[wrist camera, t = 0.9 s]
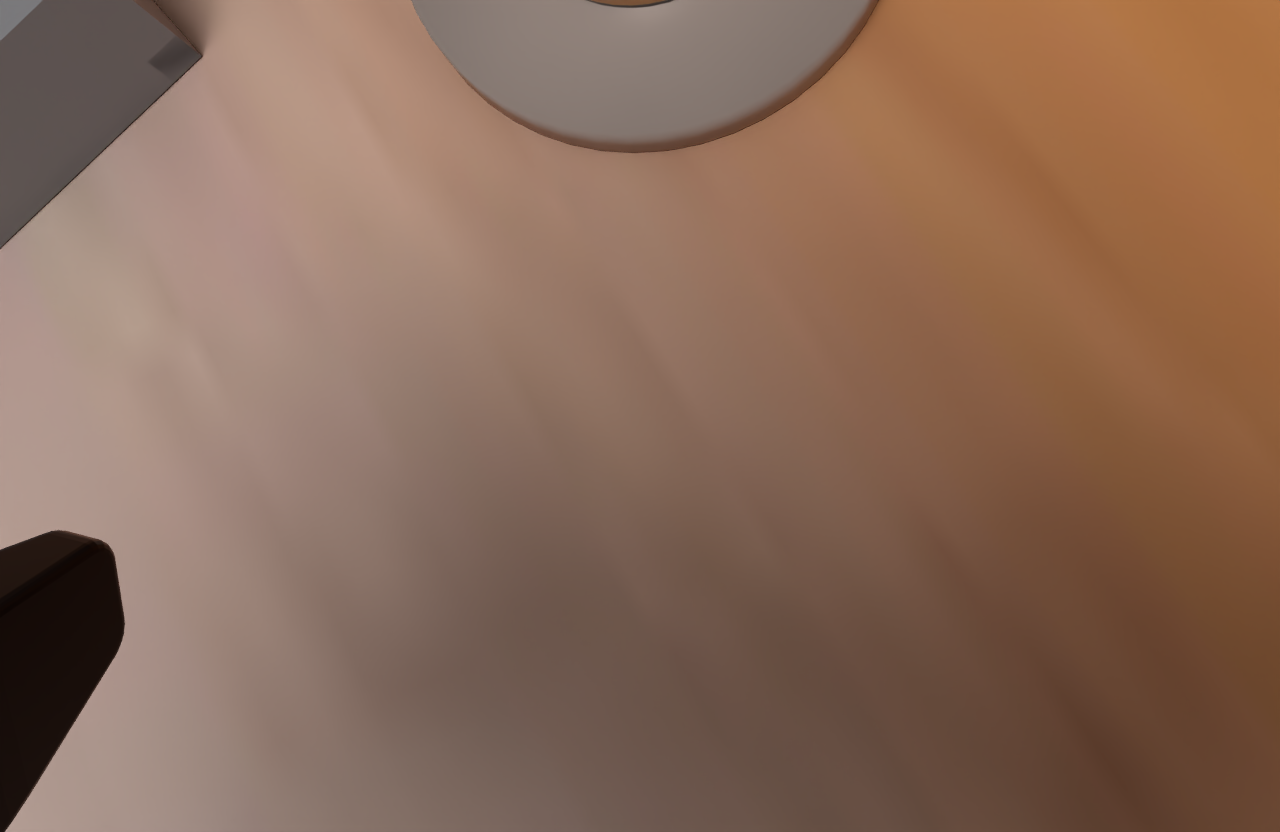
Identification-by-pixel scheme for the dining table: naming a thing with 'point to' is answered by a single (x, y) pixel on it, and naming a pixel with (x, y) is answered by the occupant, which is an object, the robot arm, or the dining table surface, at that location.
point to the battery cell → (630, 3)
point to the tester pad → (641, 63)
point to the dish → (74, 89)
